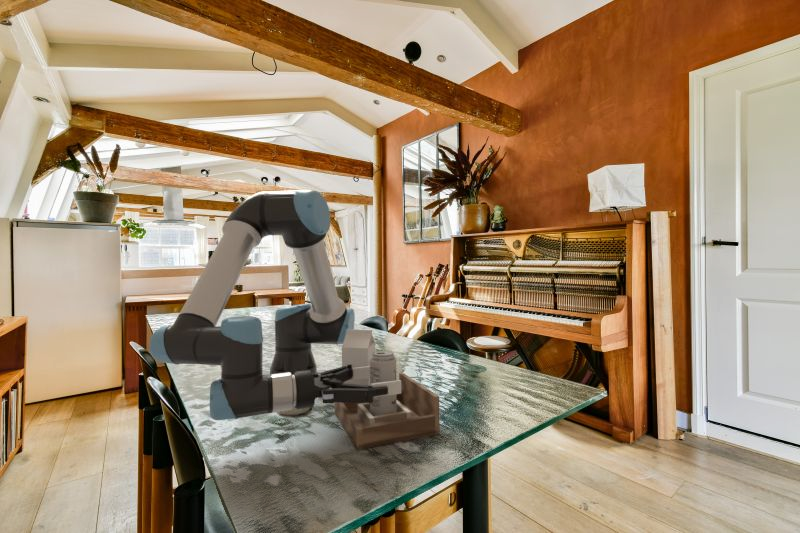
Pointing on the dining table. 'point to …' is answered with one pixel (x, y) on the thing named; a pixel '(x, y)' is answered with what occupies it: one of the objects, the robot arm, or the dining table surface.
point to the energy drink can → (383, 372)
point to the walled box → (392, 417)
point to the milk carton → (358, 352)
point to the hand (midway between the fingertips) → (389, 378)
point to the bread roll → (295, 411)
